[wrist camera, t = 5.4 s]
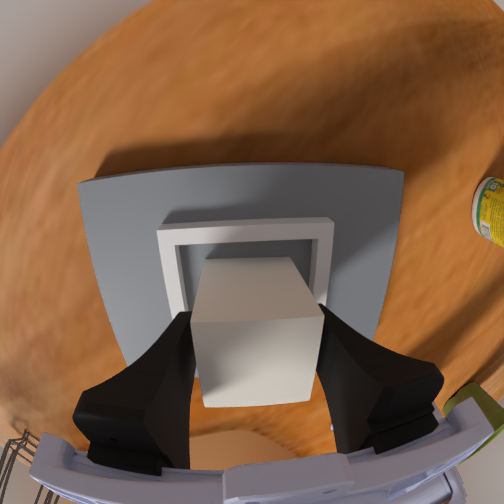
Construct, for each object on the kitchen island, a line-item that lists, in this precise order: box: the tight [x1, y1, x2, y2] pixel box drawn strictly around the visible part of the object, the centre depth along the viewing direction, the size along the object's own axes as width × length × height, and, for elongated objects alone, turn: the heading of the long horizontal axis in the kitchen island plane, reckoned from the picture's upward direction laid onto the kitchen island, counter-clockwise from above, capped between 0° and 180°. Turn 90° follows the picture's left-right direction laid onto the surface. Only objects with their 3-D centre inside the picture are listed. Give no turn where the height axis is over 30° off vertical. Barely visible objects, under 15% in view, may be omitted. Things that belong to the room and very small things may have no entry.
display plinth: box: [77, 162, 404, 377], centre depth 16 cm, size 18×14×3 cm
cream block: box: [190, 257, 324, 407], centre depth 12 cm, size 4×4×6 cm
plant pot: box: [443, 382, 504, 465], centre depth 24 cm, size 12×12×11 cm
